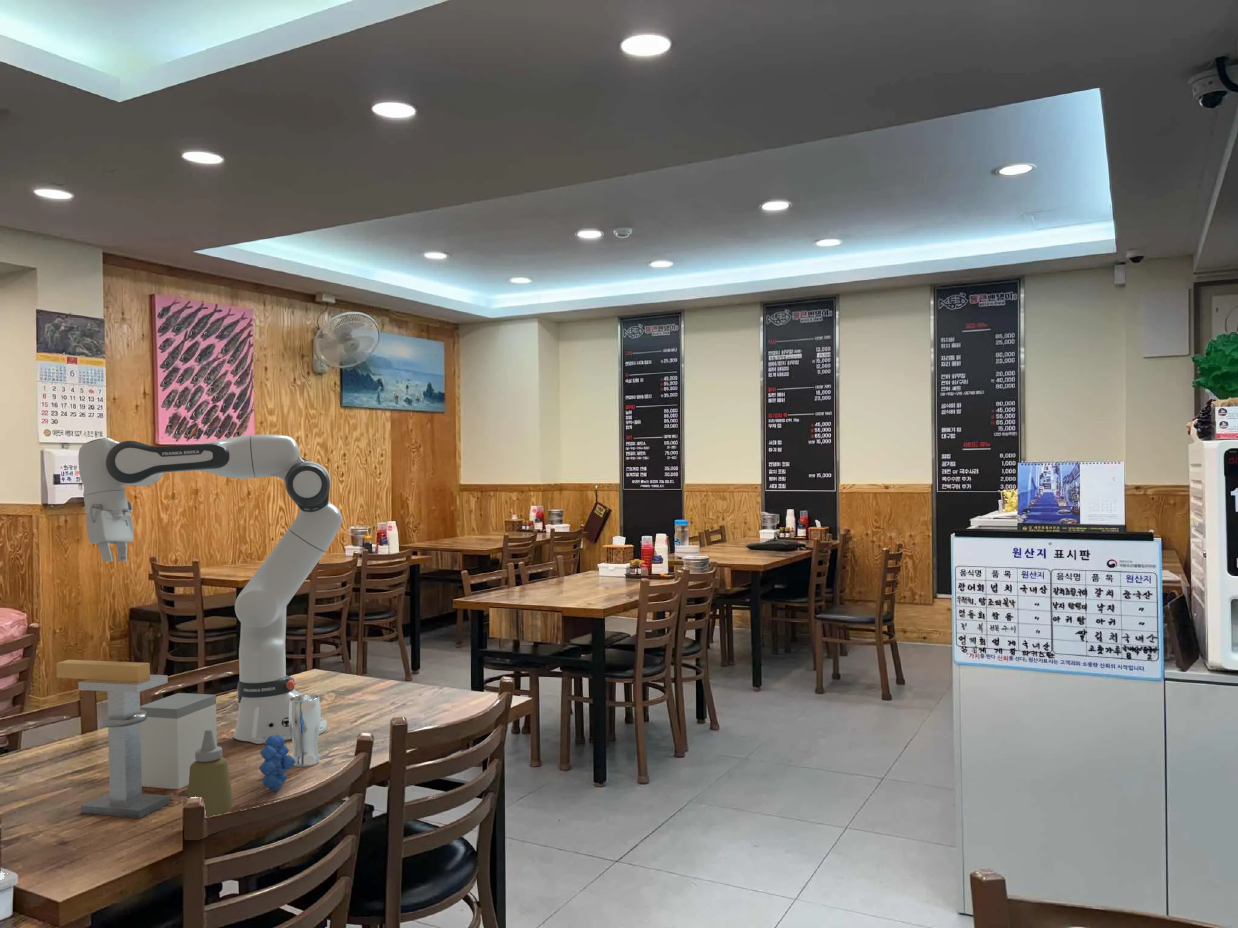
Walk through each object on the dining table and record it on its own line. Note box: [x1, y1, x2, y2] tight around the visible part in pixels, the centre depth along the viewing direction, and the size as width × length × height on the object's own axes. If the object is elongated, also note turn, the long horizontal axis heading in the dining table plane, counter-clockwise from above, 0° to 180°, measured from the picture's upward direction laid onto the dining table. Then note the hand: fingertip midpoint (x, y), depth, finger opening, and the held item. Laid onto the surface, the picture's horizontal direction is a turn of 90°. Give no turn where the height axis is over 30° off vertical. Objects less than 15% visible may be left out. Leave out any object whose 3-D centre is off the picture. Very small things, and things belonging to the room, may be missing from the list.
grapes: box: [258, 735, 295, 792], centre depth 186 cm, size 12×7×12 cm, turn 2°
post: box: [77, 674, 171, 819], centre depth 178 cm, size 14×8×26 cm, turn 76°
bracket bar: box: [55, 659, 151, 681], centre depth 179 cm, size 20×3×3 cm, turn 76°
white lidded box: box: [140, 692, 218, 790], centre depth 195 cm, size 10×12×17 cm
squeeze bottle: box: [186, 730, 234, 817], centre depth 168 cm, size 8×8×18 cm
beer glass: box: [289, 693, 322, 768], centre depth 203 cm, size 7×7×15 cm
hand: (115, 561), depth 214 cm, fingers open, 8 cm apart
